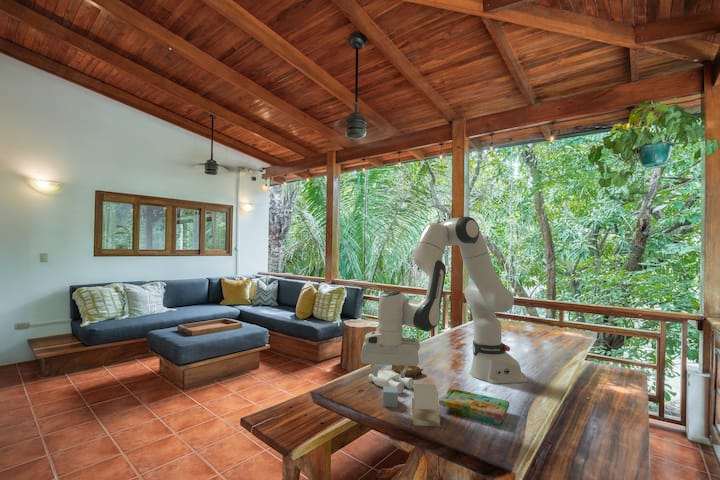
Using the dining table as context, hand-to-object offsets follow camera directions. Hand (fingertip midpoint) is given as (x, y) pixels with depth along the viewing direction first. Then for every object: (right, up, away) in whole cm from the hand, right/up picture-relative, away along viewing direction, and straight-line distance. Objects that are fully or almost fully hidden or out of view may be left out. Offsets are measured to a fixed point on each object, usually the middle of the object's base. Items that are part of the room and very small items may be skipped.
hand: (389, 376), depth 121 cm
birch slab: (+11, -9, -11) cm, 18 cm away
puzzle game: (+28, -10, -6) cm, 30 cm away
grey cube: (0, -9, 0) cm, 9 cm away
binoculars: (+2, -10, +16) cm, 19 cm away
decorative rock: (+9, -10, +29) cm, 32 cm away
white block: (+11, -4, -11) cm, 16 cm away
